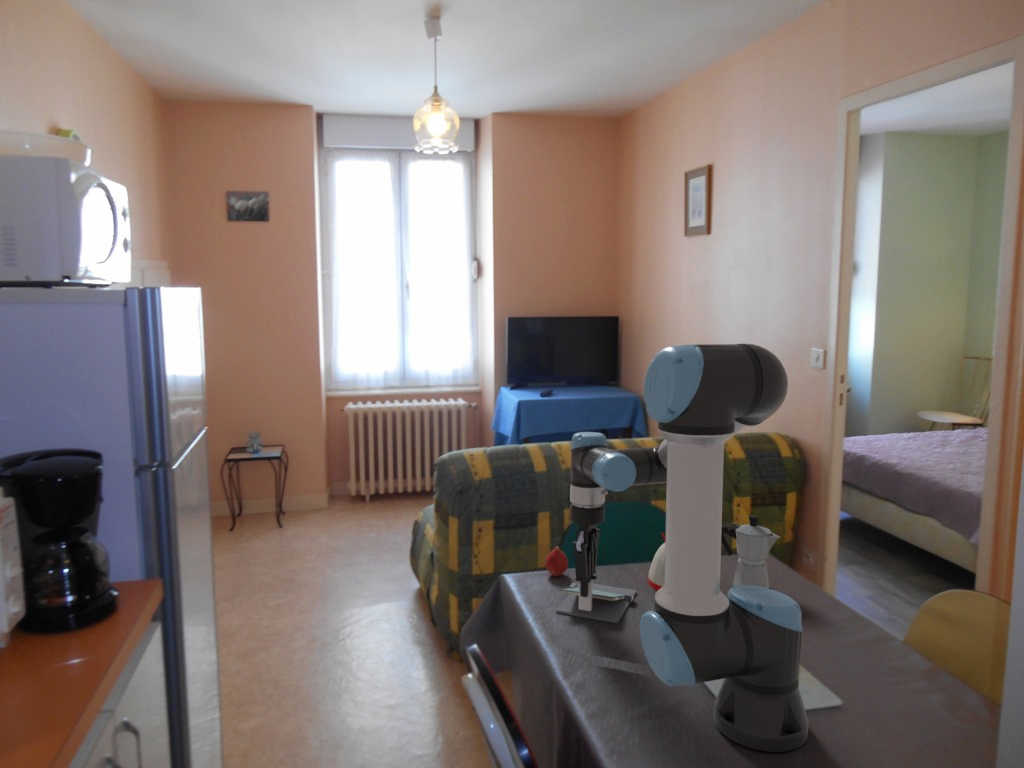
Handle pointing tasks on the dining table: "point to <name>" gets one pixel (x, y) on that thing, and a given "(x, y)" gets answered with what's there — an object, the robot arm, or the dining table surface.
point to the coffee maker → (750, 551)
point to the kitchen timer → (658, 568)
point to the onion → (556, 562)
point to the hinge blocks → (628, 597)
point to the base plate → (597, 605)
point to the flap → (597, 594)
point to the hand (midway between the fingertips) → (585, 609)
